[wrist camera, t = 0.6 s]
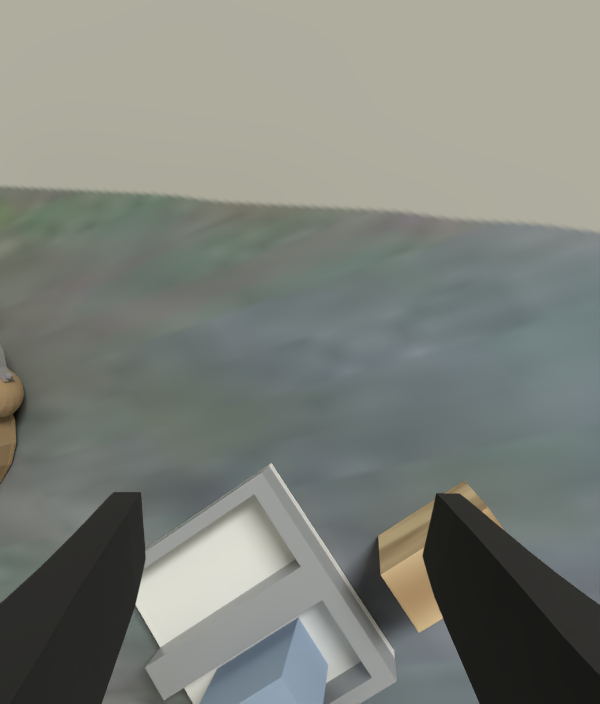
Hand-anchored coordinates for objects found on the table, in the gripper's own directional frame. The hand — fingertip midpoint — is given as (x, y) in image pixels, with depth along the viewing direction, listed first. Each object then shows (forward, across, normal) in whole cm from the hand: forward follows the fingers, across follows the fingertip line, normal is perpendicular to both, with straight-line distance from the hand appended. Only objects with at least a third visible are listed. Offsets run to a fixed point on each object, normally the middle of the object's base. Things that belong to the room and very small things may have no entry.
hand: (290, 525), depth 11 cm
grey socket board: (+14, +1, +21) cm, 25 cm away
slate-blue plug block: (+12, -1, +23) cm, 26 cm away
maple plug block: (+14, -12, +14) cm, 23 cm away
